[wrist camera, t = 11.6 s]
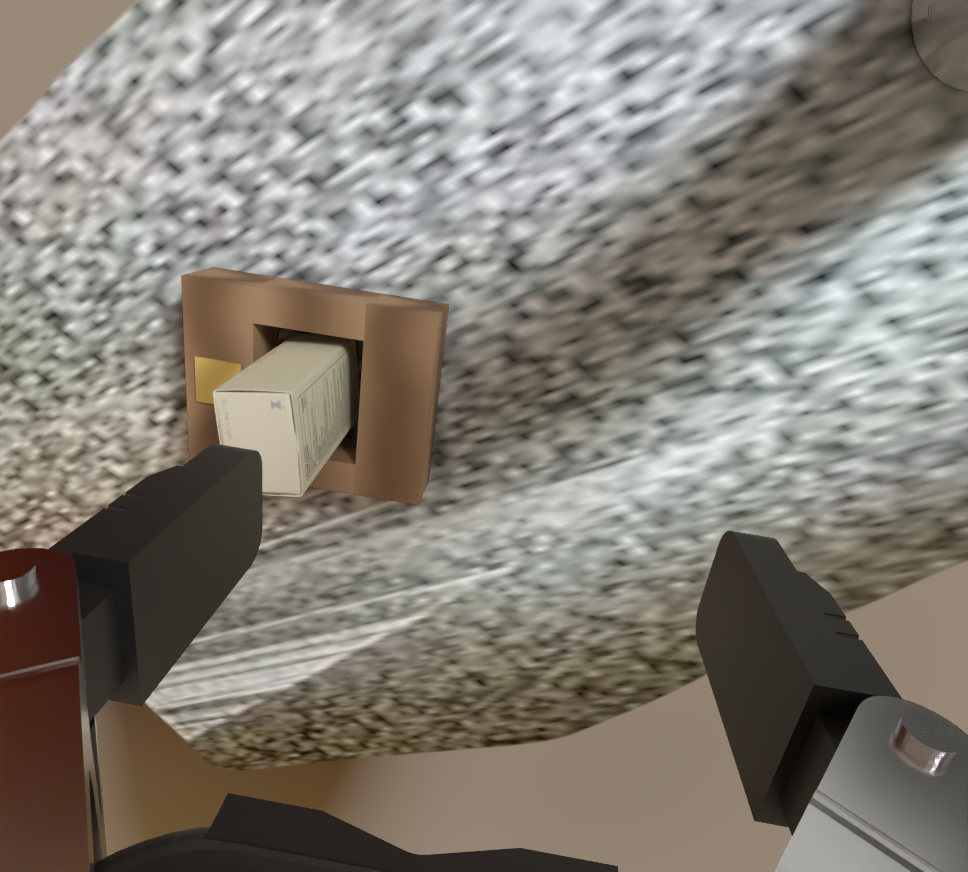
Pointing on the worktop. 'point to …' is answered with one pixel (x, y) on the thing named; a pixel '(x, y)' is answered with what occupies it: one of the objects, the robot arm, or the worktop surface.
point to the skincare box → (292, 408)
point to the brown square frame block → (336, 312)
